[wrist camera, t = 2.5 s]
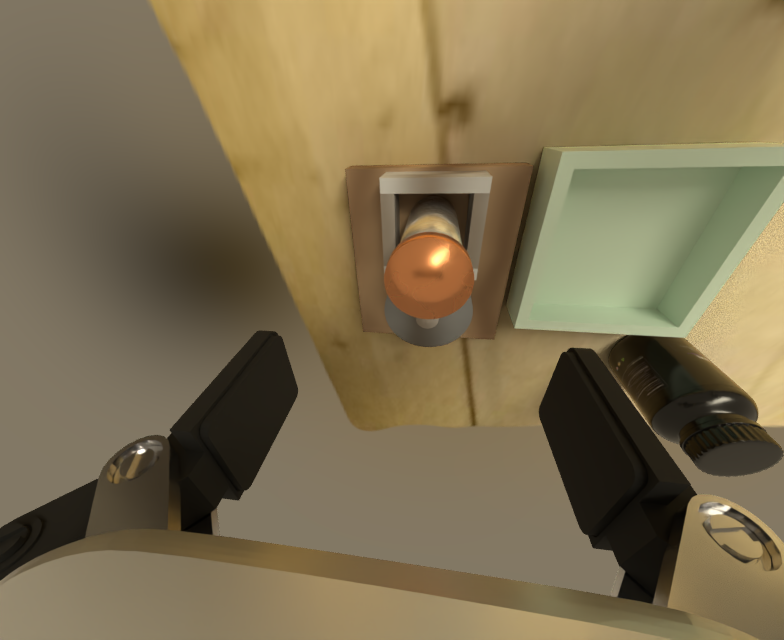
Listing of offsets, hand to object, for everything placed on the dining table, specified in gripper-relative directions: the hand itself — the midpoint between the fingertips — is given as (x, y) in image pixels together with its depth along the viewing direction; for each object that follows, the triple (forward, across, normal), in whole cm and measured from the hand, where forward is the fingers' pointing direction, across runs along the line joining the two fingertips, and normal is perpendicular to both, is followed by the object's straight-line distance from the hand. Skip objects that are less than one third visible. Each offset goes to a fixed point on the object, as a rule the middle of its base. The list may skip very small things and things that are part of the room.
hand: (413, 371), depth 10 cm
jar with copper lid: (+17, 0, -1) cm, 17 cm away
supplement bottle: (+19, -24, +13) cm, 33 cm away
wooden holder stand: (+19, 0, +3) cm, 19 cm away
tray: (+19, -16, +1) cm, 24 cm away
